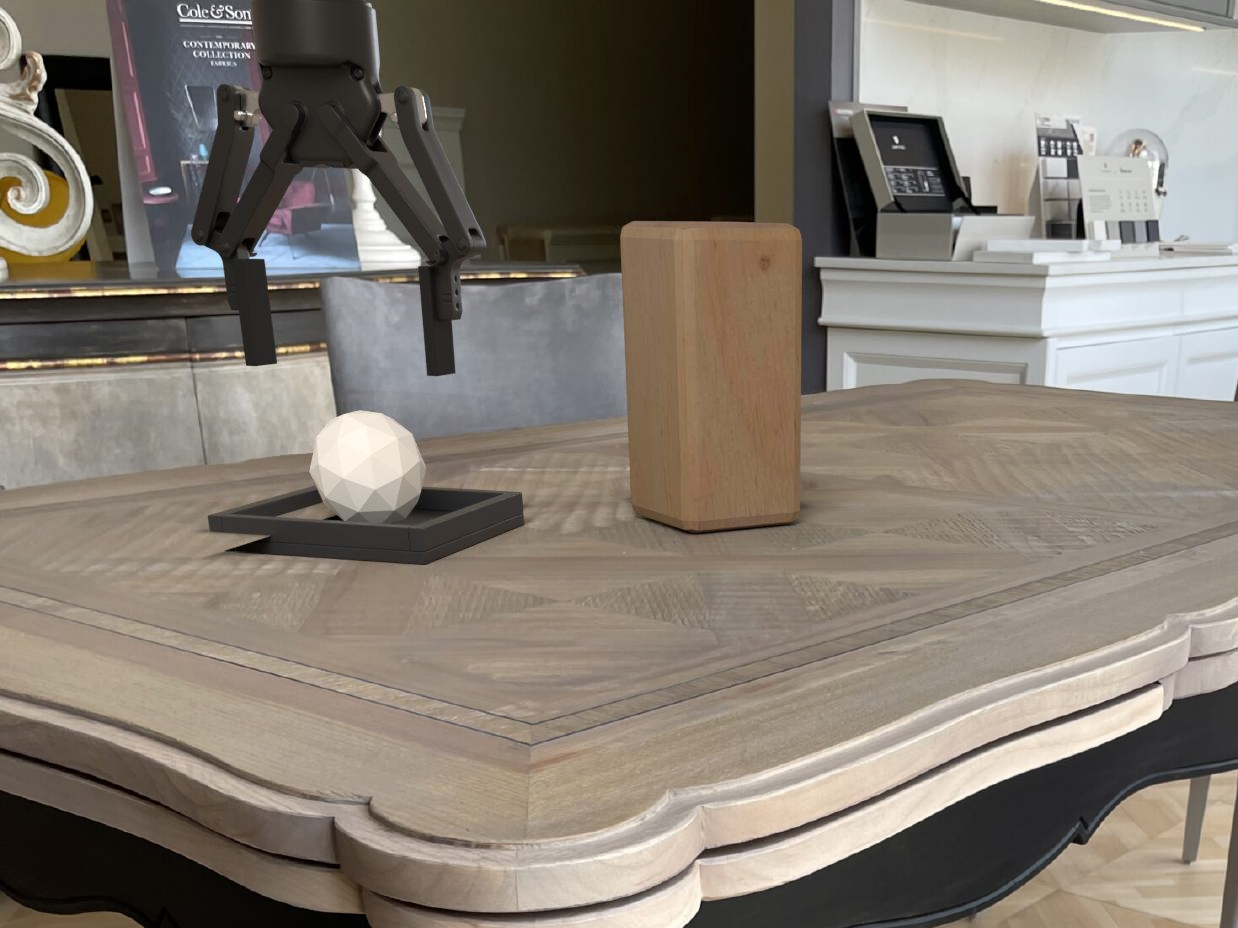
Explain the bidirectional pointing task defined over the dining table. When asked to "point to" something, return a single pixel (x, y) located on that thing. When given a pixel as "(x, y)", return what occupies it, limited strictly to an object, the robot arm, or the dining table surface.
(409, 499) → the geometric ball
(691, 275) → the wooden block
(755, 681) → the dining table surface
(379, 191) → the robot arm
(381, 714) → the dining table surface
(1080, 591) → the dining table surface
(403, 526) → the tray
